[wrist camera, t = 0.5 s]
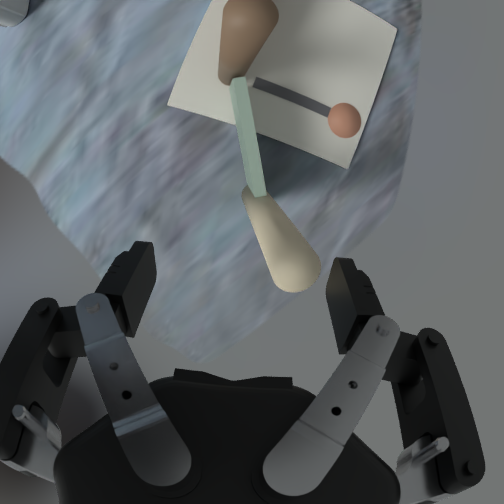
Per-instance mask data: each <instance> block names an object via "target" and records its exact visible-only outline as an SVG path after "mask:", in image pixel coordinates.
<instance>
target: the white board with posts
mask: <svg viewBox="0 0 504 504" xmlns="http://www.w3.org/2000/svg"><path fill="white" fill-rule="evenodd" d="M396 32H397V29H396V28H395V27H393V26H392V25H390V24H389V23H387V22H386V21H384V20H383V19H381V18H379V17H378V16H376V15H374V14H373V13H371V12H369V11H368V10H366V9H364V8H362V7H361V6H359V5H357V4H355V3H353V2H352V1H350V0H212V2H211V4H210V6H209V8H208V9H207V12H206V14H205V16H204V18H203V20H202V22H201V24H200V26H199V28H198V30H197V32H196V35H195V37H194V39H193V41H192V44H191V46H190V48H189V50H188V53H187V55H186V57H185V60H184V62H183V65H182V67H181V70H180V72H179V75H178V77H177V80H176V82H175V85H174V88H173V90H172V93H171V96H170V98H169V101H168V104H167V105H168V106H172V107H176V108H179V109H183V110H187V111H190V112H194V113H197V114H201V115H204V116H207V117H211V118H214V119H217V120H220V121H224V122H227V123H230V124H233V125H236V122H235V117H234V111H233V106H232V101H231V96H230V91H229V87H230V84H231V82H232V79H233V78H239V77H246V83H247V88H248V93H249V98H250V104H251V109H252V114H253V120H254V125H255V131H256V133H259V134H262V135H265V136H267V137H270V138H273V139H275V140H278V141H281V142H283V143H286V144H288V145H291V146H294V147H296V148H299V149H301V150H303V151H306V152H308V153H311V154H313V155H316V156H318V157H320V158H323V159H325V160H327V161H329V162H332V163H334V164H336V165H338V166H341V167H343V168H345V169H348V168H349V165H350V163H351V160H352V158H353V155H354V153H355V150H356V148H357V145H358V142H359V140H360V137H361V134H362V132H363V129H364V127H365V124H366V121H367V118H368V116H369V113H370V110H371V107H372V105H373V102H374V99H375V96H376V93H377V91H378V88H379V85H380V82H381V79H382V76H383V73H384V70H385V67H386V64H387V61H388V58H389V55H390V52H391V48H392V45H393V42H394V39H395V36H396Z"/></svg>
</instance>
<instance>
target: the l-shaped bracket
mask: <svg viewBox="0 0 504 504" xmlns="http://www.w3.org/2000/svg"><path fill="white" fill-rule="evenodd" d="M229 91H230V96H231V101H232V106H233V111H234V117H235V122H236V127H237V132H238V138H239V143H240V148H241V153H242V159H243V164H244V169H245V175H246V180H247V186H246V187H245V188H244V189H243V191H242V200H243V203H244V205H245V208H246V210H247V213H248V215H249V218H250V221H251V223H252V226H253V228H254V231H255V234H256V236H257V239H258V241H259V244H260V247H261V249H262V252H263V254H264V257H265V260H266V262H267V265H268V267H269V270H270V273H271V275H272V278H273V280H274V282H275V284H276V285H277V286H278V287H279V288H280V289H282V290H284V291H287V292H300V291H303V290H305V289H307V288H309V287H310V286H312V285H313V284H314V283H315V281H316V280H317V279H318V277H319V275H320V271H321V262H320V259H319V257H318V255H317V254H316V253H315V251H314V250H313V249H312V247H311V246H310V245H309V244H308V242H307V241H306V240H305V238H304V237H303V236H302V234H301V233H300V232H299V231H298V229H297V228H296V227H295V226H294V224H293V223H292V222H291V220H290V219H289V218H288V217H287V215H286V214H285V213H284V212H283V210H282V209H281V208H280V207H279V205H278V204H277V203H276V202H275V200H274V199H273V198H272V197H271V196H270V194H269V193H268V192H267V191H266V188H265V182H264V176H263V170H262V164H261V159H260V153H259V147H258V142H257V136H256V131H255V125H254V120H253V114H252V109H251V104H250V98H249V93H248V88H247V83H246V77H239V78H233V79H232V82H231V84H230V87H229Z"/></svg>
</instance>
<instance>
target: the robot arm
mask: <svg viewBox="0 0 504 504" xmlns="http://www.w3.org/2000/svg"><path fill="white" fill-rule="evenodd" d="M156 275H157V271H156V263H155V255H154V247H153V243H152V242H143V241H135V242H134V244H133V245H132V247H131V249H130V250H129V251H124V252H122V253H121V254H120V255H118V256H117V257H116V258H115V260H114V261H113V263H112V264H111V266H110V267H109V269H108V271H107V273H106V274H105V276H104V277H103V279H102V281H101V282H100V284H99V286H98V287H97V289H96V291H95V293H91V294H88V295H85V296H84V297H82V298H81V299H80V300H79V301H78V303H77V305H76V306H69V307H59V305H58V303H57V301H56V300H55V299H53V298H42V299H40V300H38V301H36V302H35V303H34V304H33V305H32V306H31V308H30V310H29V311H28V313H27V314H26V316H25V318H24V320H23V321H22V323H21V325H20V327H19V328H18V330H17V332H16V334H15V336H14V338H13V340H12V341H11V343H10V345H9V347H8V349H7V351H6V353H5V355H4V357H3V359H2V361H1V363H0V461H2V462H3V463H5V464H7V465H8V466H10V467H12V468H13V469H15V470H18V471H20V472H22V473H24V474H25V475H27V476H30V477H36V476H39V477H42V478H44V479H46V480H49V481H51V482H54V483H55V485H56V489H57V493H58V497H59V504H433V503H435V502H438V501H440V500H443V499H446V498H448V497H450V496H453V495H455V494H457V493H459V492H462V491H464V490H466V489H468V488H470V487H472V486H474V485H476V484H477V483H479V482H480V480H481V479H482V478H483V475H484V472H485V461H484V456H483V452H482V448H481V443H480V439H479V436H478V432H477V428H476V425H475V421H474V418H473V414H472V411H471V408H470V405H469V402H468V399H467V395H466V393H465V389H464V387H463V384H462V381H461V378H460V375H459V373H458V370H457V368H456V365H455V362H454V360H453V357H452V355H451V352H450V350H449V347H448V345H447V342H446V340H445V338H444V337H443V335H442V334H441V333H439V332H438V331H436V330H434V329H432V328H424V329H422V330H421V331H420V332H419V333H418V335H417V336H416V335H412V334H409V333H405V332H401V331H400V328H399V326H398V325H397V323H396V322H395V321H393V320H392V319H391V318H389V317H387V316H385V314H384V312H383V309H382V307H381V305H380V302H379V300H378V297H377V295H376V294H375V290H374V288H373V286H372V283H371V281H370V279H369V277H368V276H367V275H366V274H365V273H364V272H363V271H362V270H357V268H356V266H355V264H354V261H353V259H349V258H338V257H336V258H335V259H334V261H333V265H332V268H331V272H330V275H329V279H328V282H327V286H326V299H327V303H328V307H329V312H330V316H331V320H332V325H333V329H334V333H335V338H336V342H337V347H338V352H339V354H346V355H345V357H344V358H343V359H342V361H341V362H340V364H339V366H338V367H337V368H336V370H335V371H334V373H333V374H332V376H331V377H330V378H329V380H328V381H327V383H326V384H325V385H324V387H323V388H322V390H321V391H320V392H319V394H318V395H317V396H315V395H314V394H312V393H310V392H309V391H307V390H304V389H302V388H299V387H296V386H293V383H292V377H267V376H263V377H257V378H250V379H244V380H237V381H231V380H228V379H224V378H221V377H218V376H215V375H212V374H209V373H206V372H202V371H192V370H185V369H177V368H175V371H174V376H172V377H165V378H161V379H158V380H155V381H153V382H150V383H149V384H148V382H147V380H146V378H145V377H144V374H143V373H142V371H141V369H140V367H139V365H138V363H137V361H136V359H135V357H134V354H133V352H132V350H131V348H130V346H129V344H128V342H127V340H126V337H125V336H127V337H132V338H134V336H135V334H136V331H137V328H138V326H139V323H140V320H141V318H142V315H143V313H144V310H145V308H146V305H147V302H148V300H149V297H150V295H151V292H152V290H153V288H154V285H155V282H156ZM86 356H87V358H88V361H89V364H90V367H91V370H92V373H93V376H94V379H95V382H96V384H97V387H98V390H99V392H100V395H101V397H102V400H103V403H104V405H105V407H106V410H107V412H108V414H106V415H105V416H104V417H102V418H101V419H99V420H98V421H97V422H95V423H94V424H93V425H91V426H90V427H88V428H87V429H86V430H84V431H83V432H82V433H80V434H79V435H77V436H76V437H74V438H73V439H72V440H70V441H69V442H67V443H66V444H65V445H64V446H63V447H62V448H61V432H60V429H59V427H58V426H57V424H56V421H57V418H58V414H59V411H60V408H61V405H62V402H63V398H64V396H65V393H66V389H67V387H68V384H69V381H70V378H71V375H72V372H73V370H74V367H75V364H76V361H77V358H78V357H86ZM381 379H382V380H386V381H391V384H392V389H393V394H394V398H395V403H396V408H397V413H398V418H399V423H400V429H401V434H402V440H403V447H404V450H403V451H402V452H401V453H400V455H399V456H398V459H397V467H396V473H395V472H394V471H393V470H392V469H391V468H390V467H389V466H388V465H387V464H386V463H385V462H384V461H383V460H382V459H381V458H380V457H379V456H377V454H375V453H374V452H373V451H372V450H371V449H370V448H369V447H368V446H367V445H366V444H365V443H364V442H363V441H362V440H361V439H360V438H358V436H356V435H355V434H354V433H353V430H354V429H355V427H356V425H357V424H358V422H359V420H360V419H361V417H362V415H363V413H364V412H365V410H366V408H367V406H368V404H369V403H370V401H371V399H372V397H373V395H374V393H375V391H376V389H377V387H378V385H379V383H380V381H381Z"/></svg>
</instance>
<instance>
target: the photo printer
mask: <svg viewBox="0 0 504 504" xmlns="http://www.w3.org/2000/svg"><path fill="white" fill-rule="evenodd" d="M28 6H29V0H0V26H2V27H8V26H9V27H13V26H16V25H17V24H19V23H20V22H21V21H22V20H23V19H24V18H25V16H26V15H27V11H28Z"/></svg>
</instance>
